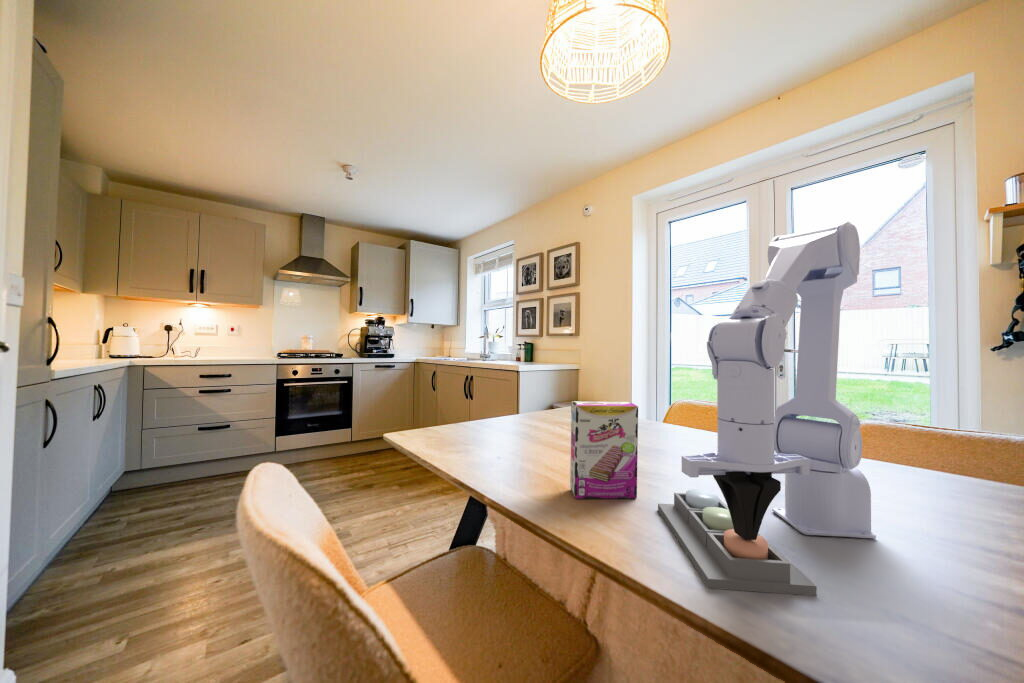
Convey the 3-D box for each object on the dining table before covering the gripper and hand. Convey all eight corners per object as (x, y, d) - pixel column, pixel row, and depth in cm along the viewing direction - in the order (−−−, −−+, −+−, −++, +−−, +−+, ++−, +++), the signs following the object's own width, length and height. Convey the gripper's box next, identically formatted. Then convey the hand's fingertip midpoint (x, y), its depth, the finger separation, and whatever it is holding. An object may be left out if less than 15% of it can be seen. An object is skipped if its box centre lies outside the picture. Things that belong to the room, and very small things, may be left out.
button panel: (729, 513, 60) (729, 494, 60) (816, 595, 40) (816, 567, 40) (658, 509, 61) (657, 491, 61) (708, 588, 41) (708, 560, 42)
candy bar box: (575, 500, 65) (575, 405, 65) (569, 489, 70) (569, 400, 70) (639, 499, 65) (639, 404, 66) (629, 488, 70) (629, 400, 71)
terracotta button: (755, 546, 46) (755, 530, 46) (776, 567, 42) (776, 549, 42) (717, 544, 47) (717, 528, 47) (734, 564, 42) (734, 546, 42)
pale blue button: (711, 502, 59) (711, 490, 59) (723, 515, 55) (723, 501, 55) (681, 501, 60) (681, 488, 60) (692, 513, 55) (692, 500, 55)
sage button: (730, 522, 53) (730, 507, 53) (746, 538, 48) (746, 522, 48) (697, 520, 53) (697, 506, 53) (710, 536, 49) (710, 520, 49)
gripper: (776, 413, 49) (777, 518, 49) (669, 414, 48) (668, 521, 48) (825, 424, 42) (826, 547, 42) (700, 425, 41) (700, 551, 41)
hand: (745, 535), depth 44 cm, fingers closed
